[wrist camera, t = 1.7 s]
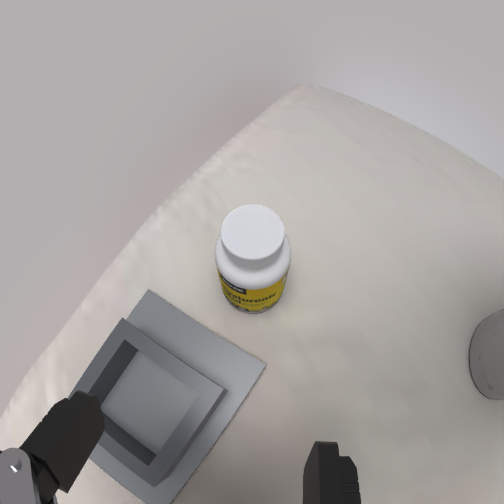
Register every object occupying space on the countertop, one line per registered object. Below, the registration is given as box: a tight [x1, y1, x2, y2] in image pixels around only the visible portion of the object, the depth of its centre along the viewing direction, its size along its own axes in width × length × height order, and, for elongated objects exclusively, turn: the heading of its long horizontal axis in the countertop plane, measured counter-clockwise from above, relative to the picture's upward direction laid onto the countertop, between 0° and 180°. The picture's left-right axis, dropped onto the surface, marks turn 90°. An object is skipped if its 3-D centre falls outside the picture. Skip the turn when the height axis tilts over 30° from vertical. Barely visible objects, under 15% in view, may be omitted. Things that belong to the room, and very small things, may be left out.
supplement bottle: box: [215, 204, 291, 313], centre depth 24 cm, size 5×5×10 cm
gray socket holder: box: [67, 289, 266, 504], centre depth 21 cm, size 16×12×5 cm
